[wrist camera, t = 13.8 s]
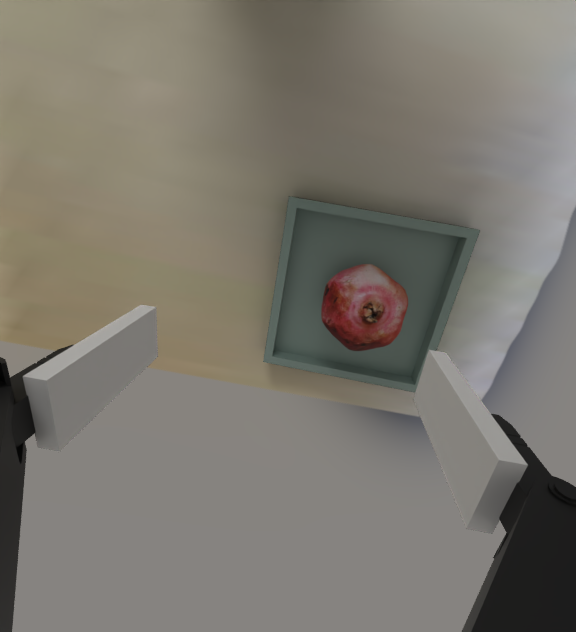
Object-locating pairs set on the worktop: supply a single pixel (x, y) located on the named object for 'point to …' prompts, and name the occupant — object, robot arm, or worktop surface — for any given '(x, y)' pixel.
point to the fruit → (364, 307)
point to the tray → (356, 249)
